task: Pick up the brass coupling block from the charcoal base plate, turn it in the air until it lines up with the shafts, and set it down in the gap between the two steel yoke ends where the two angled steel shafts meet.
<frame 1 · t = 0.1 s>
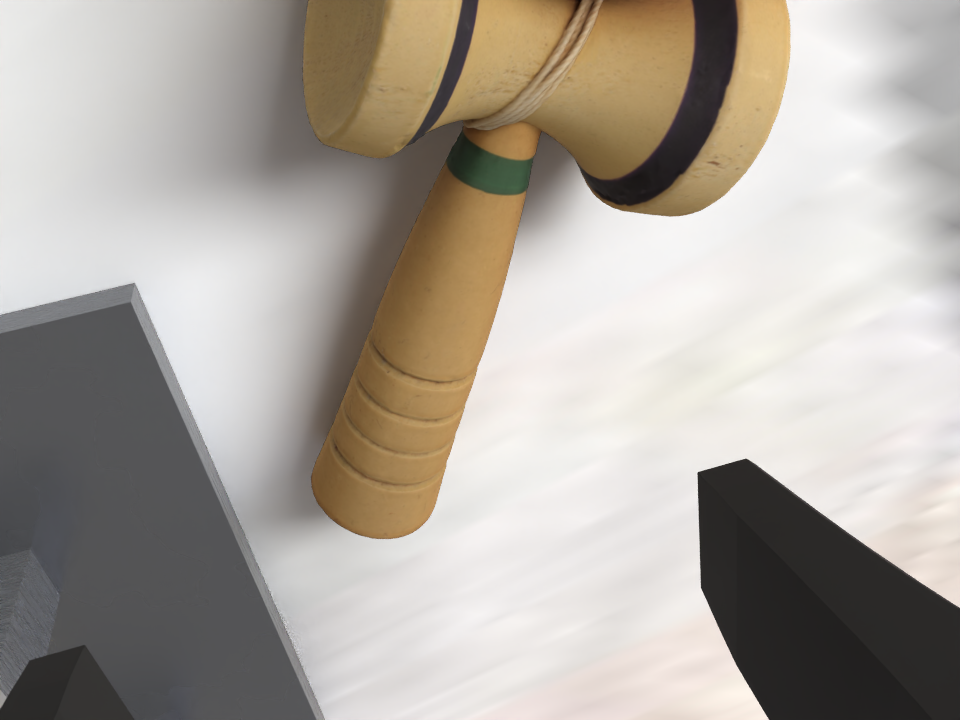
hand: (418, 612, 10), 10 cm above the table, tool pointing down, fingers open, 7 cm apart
kendama: (470, 103, 18), on the table
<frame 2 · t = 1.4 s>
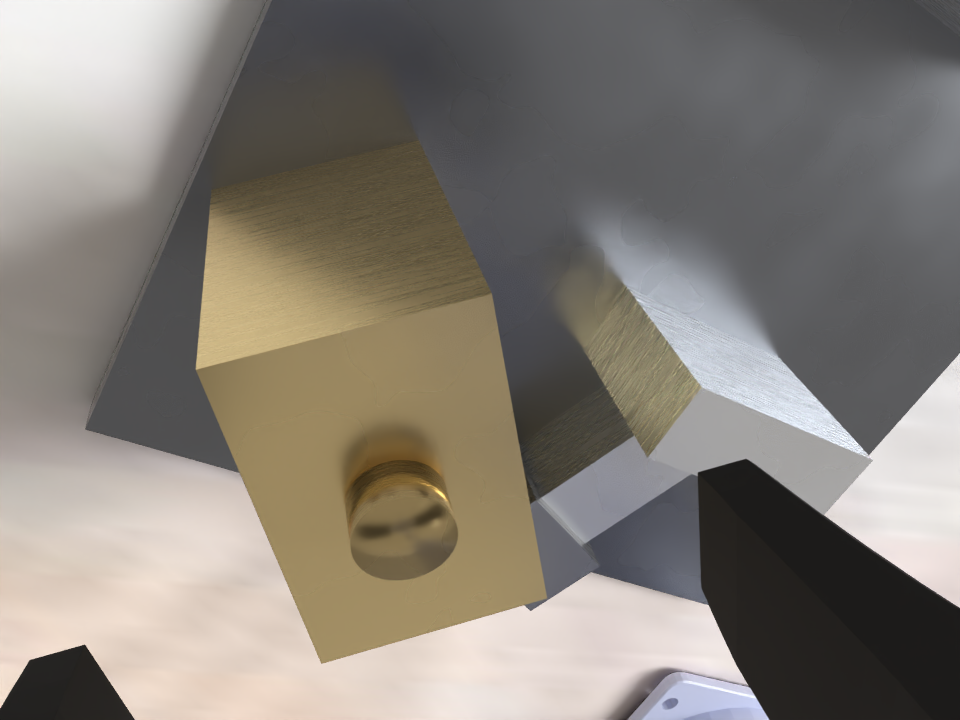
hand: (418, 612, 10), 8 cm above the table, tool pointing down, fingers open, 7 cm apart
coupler: (355, 303, 17), point 1 cm above the table, touching shaft base
shaft base: (721, 125, 17), on the table
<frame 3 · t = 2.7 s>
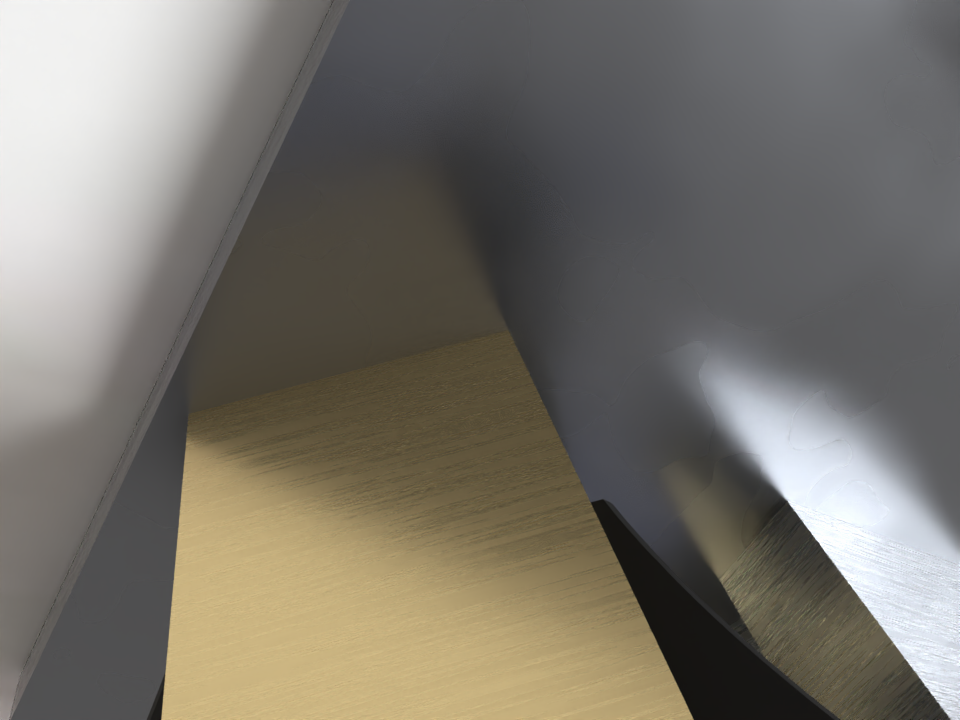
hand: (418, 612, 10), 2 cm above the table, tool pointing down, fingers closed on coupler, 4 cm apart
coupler: (404, 546, 11), point 1 cm above the table, touching gripper, shaft base
shaft base: (932, 276, 12), on the table
when the fingers open (3 cm above the table, at t = 6.1 s): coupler stays where it is, resting on shaft base.
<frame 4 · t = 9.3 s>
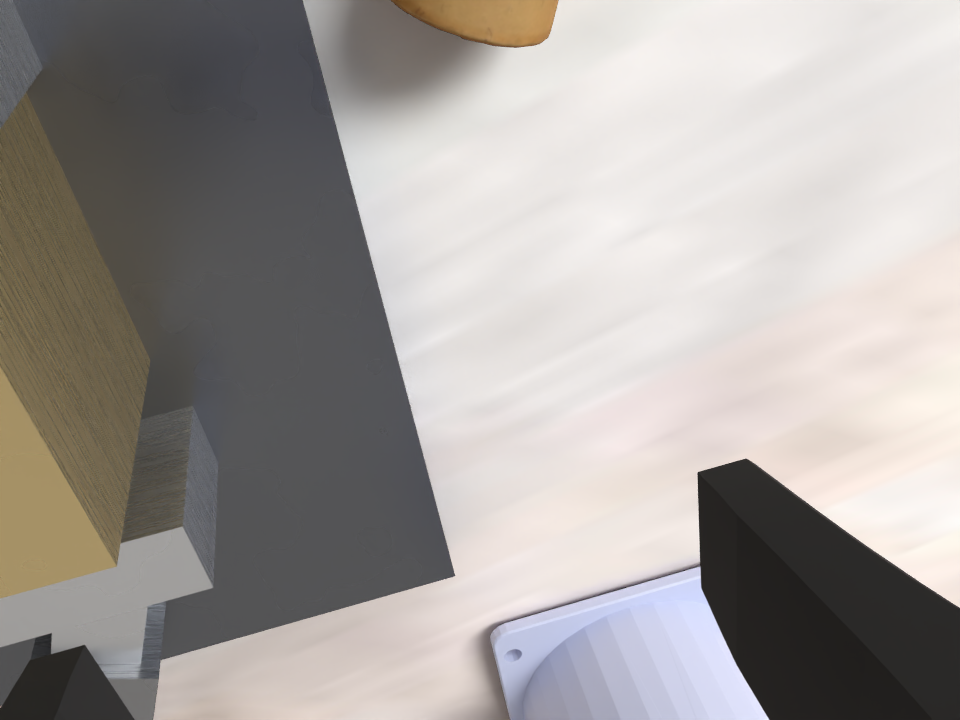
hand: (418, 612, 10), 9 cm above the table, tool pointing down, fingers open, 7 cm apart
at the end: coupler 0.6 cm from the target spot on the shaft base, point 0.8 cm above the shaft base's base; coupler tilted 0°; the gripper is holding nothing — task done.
